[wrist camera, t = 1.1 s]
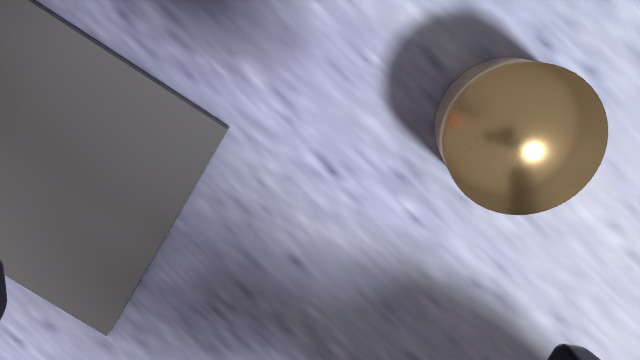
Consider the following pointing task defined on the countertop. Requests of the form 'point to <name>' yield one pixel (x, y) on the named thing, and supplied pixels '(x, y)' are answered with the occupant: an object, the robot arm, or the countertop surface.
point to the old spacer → (520, 134)
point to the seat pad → (88, 164)
